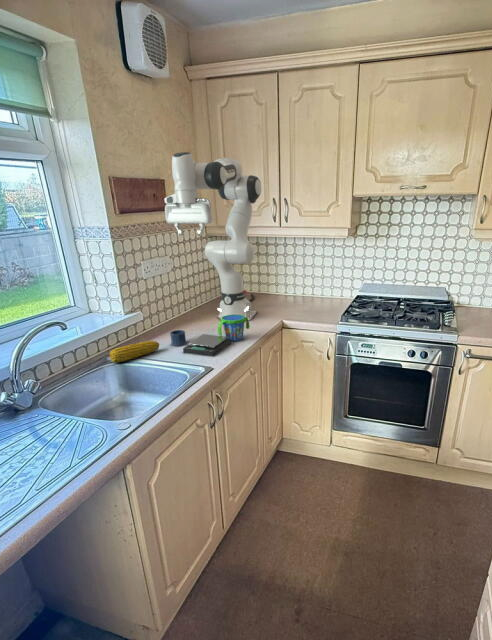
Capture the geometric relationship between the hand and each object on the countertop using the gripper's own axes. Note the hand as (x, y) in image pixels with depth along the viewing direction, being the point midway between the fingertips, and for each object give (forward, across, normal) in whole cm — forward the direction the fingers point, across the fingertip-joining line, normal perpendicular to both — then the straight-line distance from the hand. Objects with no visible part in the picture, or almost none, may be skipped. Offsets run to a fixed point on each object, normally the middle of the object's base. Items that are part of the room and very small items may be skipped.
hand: (190, 235), depth 168 cm
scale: (+44, -10, +12) cm, 47 cm away
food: (+45, +13, +30) cm, 55 cm away
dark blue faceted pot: (+44, +5, +10) cm, 46 cm away
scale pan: (+42, -10, +11) cm, 44 cm away
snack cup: (+45, -16, -2) cm, 47 cm away
